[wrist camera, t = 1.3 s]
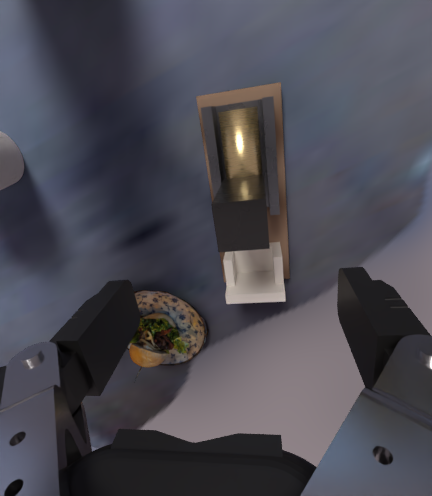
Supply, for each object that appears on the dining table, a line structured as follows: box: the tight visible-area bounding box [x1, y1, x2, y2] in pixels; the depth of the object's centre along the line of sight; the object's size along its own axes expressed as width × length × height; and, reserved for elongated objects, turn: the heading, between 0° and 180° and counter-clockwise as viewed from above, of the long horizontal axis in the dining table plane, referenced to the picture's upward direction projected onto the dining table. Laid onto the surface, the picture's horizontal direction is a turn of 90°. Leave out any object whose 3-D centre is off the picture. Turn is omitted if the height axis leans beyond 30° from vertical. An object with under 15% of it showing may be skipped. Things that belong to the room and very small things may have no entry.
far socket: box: [223, 242, 286, 304], centre depth 29 cm, size 4×5×5 cm
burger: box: [127, 290, 208, 381], centre depth 34 cm, size 12×12×8 cm
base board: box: [196, 82, 290, 282], centre depth 29 cm, size 18×7×1 cm, turn 8°
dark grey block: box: [211, 106, 270, 252], centre depth 21 cm, size 9×3×10 cm, turn 8°
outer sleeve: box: [201, 96, 280, 215], centre depth 25 cm, size 9×5×3 cm, turn 8°
